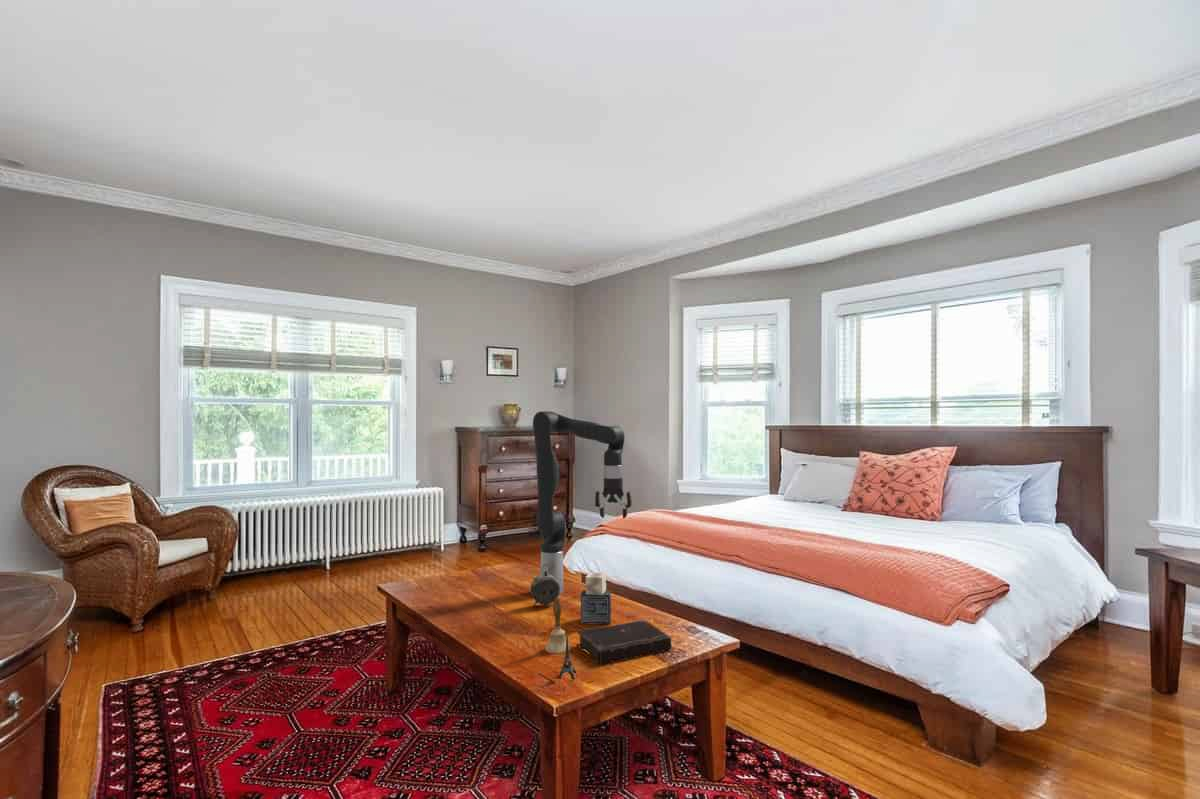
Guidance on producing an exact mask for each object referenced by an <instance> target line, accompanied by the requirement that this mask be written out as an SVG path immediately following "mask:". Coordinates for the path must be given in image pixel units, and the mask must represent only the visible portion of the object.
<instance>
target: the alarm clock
mask: <svg viewBox="0 0 1200 799" xmlns="http://www.w3.org/2000/svg"><path fill="white" fill-rule="evenodd" d="M544 565H548V564H544ZM544 565H543V566H544ZM543 566H542V568H543ZM548 566H549V565H548ZM542 568H541V567H540V570H541V569H542ZM549 570H550V566H549ZM549 570H548V571H549ZM548 571H545V572H544V573H545V574H541V575H540V574H539V575H537V576H536V577H535V578H534V579H533V580H532V582H531V585H530V594H531V596H532V598H533V599H534V600H535V603H534V604H533V605H532V606H533V607H536V605H537V604H540V605H543V606H545V608H546V609H547V608H548V605H550V604H552V603H554V601H555V598H559V595H560V594H559V593H560V585H559V583H558V581H557V580H556V579H555V577H553V576H552V575H550V574H547V572H548ZM542 572H543V570H542Z"/></svg>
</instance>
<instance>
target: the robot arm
mask: <svg viewBox="0 0 1200 799" xmlns="http://www.w3.org/2000/svg"><path fill="white" fill-rule="evenodd" d="M532 430H533V436H534V444H535V455H536V456H535V457H536V479H537V480H536V482H537V510H536V511H537V512H536V527H537V530H538V532H539V533H540V535H542V536H544V537H546V538H545V540H544V541H543V542H542V543H541V545H540V569H539V575H541V574H545V573H544V572H545V571H548V570H549V566H550V570H549V571H548V572H547V574H550V575H552V576H553V577H555V579H556V580H557V581H558V583H559V585H560V593H559V595H561V594H563V593H564V588H565V587H564V545H565V542H566V519H565V516H564V514H563V513H562V512H561V511H558V510H554V509H553V508H554V507H553V506H554V505H553V504H554V502H553V501H554V497H555V494H556V491H557V490H558V489H557V488H558V487H559V483H560V469H559V468H560V467H559V465H560V464H559V463H558V459H557V457H556V454H555V453H554V450H553V448H552V441H551V434H553V433H566V434H570V435H573V436H576V437H578V438H581V439H586V440H591V441H596V442H598V443H602V444H605V445H608V446H607V450H605V451H604V454H603V475H602V476H603V490H602V491H600V490H597V491H595V500H594V501H595V502H594V506H595V507H597V508H599V516H600V517H601V519H604V518H605V505H606V504H607V503H609V504H610V503H614V504H618V503H619V505H620V506H621V508H622V519H625V518H626V517H627V516H628V509H629V508H631V507H632V506H633V505H632V492H631V491H630V490H629V491H624V488H623V486H624V485H623V481H624V479H623V476H624V475H623V463H622V460H623V456H622V453H623V450H624V446H625V445H624V444H625V433H624V429H623V428H622V427H620V426H618V425H610V426H609V425H602V424H600V423H598V422H593V421H588V420H583V419H581V420H580V419H576V418H575V419H574V418H572V417H571V418H570V417H567V416H564V415H561V414H560V413H559V414H558V413H556V412H554V411H548V410H547V411H542V410H541V411H539V412H535V414H534V416H533V419H532ZM602 496H603V498H604V499H603V500H602V502H601V500H600V499H601V497H602ZM623 497H625V498H626V503H625V500H624V499H623ZM600 502H601V503H600ZM544 564H548V565H549V566H548V565H544ZM543 565H544V566H543ZM542 566H543V568H542ZM541 568H542V569H541ZM542 570H543V572H542Z"/></svg>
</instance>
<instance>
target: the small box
mask: <svg viewBox="0 0 1200 799" xmlns="http://www.w3.org/2000/svg"><path fill="white" fill-rule="evenodd" d="M611 621H612V593H611V589H610V590H609V589H608V590H607V589H606V591H605V592H604V593H603V595H593V594H586V589H582V591H581V592H580V623H581V622H582V623H602V624H601V625H611Z"/></svg>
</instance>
